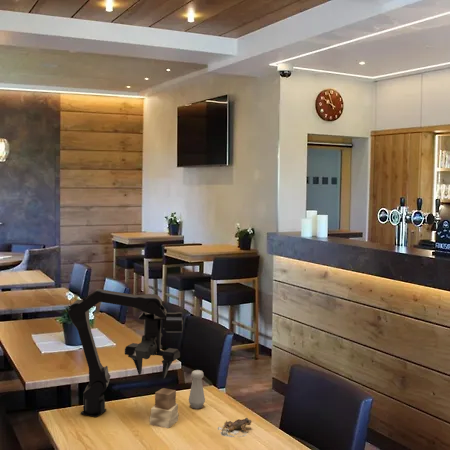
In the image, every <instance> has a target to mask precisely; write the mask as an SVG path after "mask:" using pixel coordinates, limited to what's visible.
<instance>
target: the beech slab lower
mask: <svg viewBox="0 0 450 450" xmlns="http://www.w3.org/2000/svg"><path fill="white" fill-rule="evenodd" d="M177 422H179V412H178V413H177V414H176V415H175V416H174V417H173V419H172V420H166V419H158V418H151V415H150V416H149V425H151V426H155V427H161V428H165V429H170V428H171V427H172V426H173V425H174V424H176V423H177Z"/></svg>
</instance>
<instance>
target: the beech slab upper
mask: <svg viewBox="0 0 450 450" xmlns="http://www.w3.org/2000/svg"><path fill="white" fill-rule="evenodd" d="M177 413H178V414H179V403H176V405H175V406H173V407H172V408H170V409H169V410H166V409H161V408H156V407H155V404H154V405H153V406H152V407H151V409H150V416H151V418H158V419H166V420H172V419H173V417H174V416H175V415H176V414H177Z"/></svg>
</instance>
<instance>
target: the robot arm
mask: <svg viewBox="0 0 450 450" xmlns="http://www.w3.org/2000/svg"><path fill="white" fill-rule="evenodd" d="M99 303H105V304H110V305H117V306H118V305H119V306H124V307H130V308H135V309H137V310H139V311H141V312H142V313H141V314H140V315H139V316H138V320H139V321H140V320H142V321H144V323H143V326H144V327H143V335H142V336H141V341H140V342H139V343H135V342H132V343H130V344H128V345H126V346H125V347H124V355H125V356H127V357H128V358H130V359H131V360H132V361H133V363H134V365H135V368H136V370H137V374H138V375H140V376H141V375H142V373H143V372H142V371H143V359H144V360H149V359H150V358H151V356H160V357H162V360H161V362H162V379H165V378H166V376H167V374H168V372H169V369H170V367H171V364H173V362H174V361H176V360H177V359H180V357H181V351H180V350H179V349H178V348H171V347H168V348H167V349H165V350H164V349H163V345H162V344H161V343H162V341H161V340H162V337H164V335H163V333H162V329H163V330H164V331H165V332H166V333H183V322H184V320H183V312H182V311H178V312H168V311H167V309H166V308H165V307H164V305H163V301H162V298H161V297H160V296H159V295H158V294H155V293H146V294H145V293H143V294H131V293H126V292H125V293H124V292H120V291H119V292H118V291H114V290H113V291H112V290H107V289H102V288H97V289H96V290H94V291H93V292H92V293H90V294H89V295H87V296H85V297H84V298H83V299H76V300H74V302H72V304H71V305H70V306H69V307H68V310H67V313H68V316H69V318H70V320H71V322H72V324H73V326H74V327H75V328H76V329H77V332H78V333H77V334H78V335H79V339H80V343H81V347H82V351H83V353H84V356H85V360H86V364H87V367H88V382H89V383H88V384H87V385H86V387H85V389H84V391H83V393H82V395H83V400H82V401H83V402H82V404H83V405H82V406H83V407H82V408H83V409H82V411H80V415H84V416H90V417H93V418H94V417H95V418H97V417H99V416H101V415H102V414H103V413H105V412H106V411H107V409H106V399H105V395H104V393H105V392H106V391H107V389H108V388H107V387H108V386H109V384H110V383H109V382H110V379H111V374H110V373H109V367H108V366H107V365H105V366H103V364H102V363H101V360H100V357H99V354H98V349H97V346H96V342H95V339H94V335H93V333H92V328H91V325H90V310H91V309H92V308H93V307H95V306H96V305H97V304H99ZM162 349H163V350H162Z"/></svg>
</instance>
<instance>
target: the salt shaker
mask: <svg viewBox="0 0 450 450" xmlns="http://www.w3.org/2000/svg"><path fill="white" fill-rule="evenodd" d="M204 376H205V375H204V372H203V370H200V369H195V370H193V371H191V378H192V382H191V386H190V392H189V395H188V403H189V406H190V407H191V408H192V409H197V410H199V409H202V408H203V406H204V404H205V401H206V398H205V392H204V387H203V385H204V384H203V380H202V379H203V378H204Z"/></svg>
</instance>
